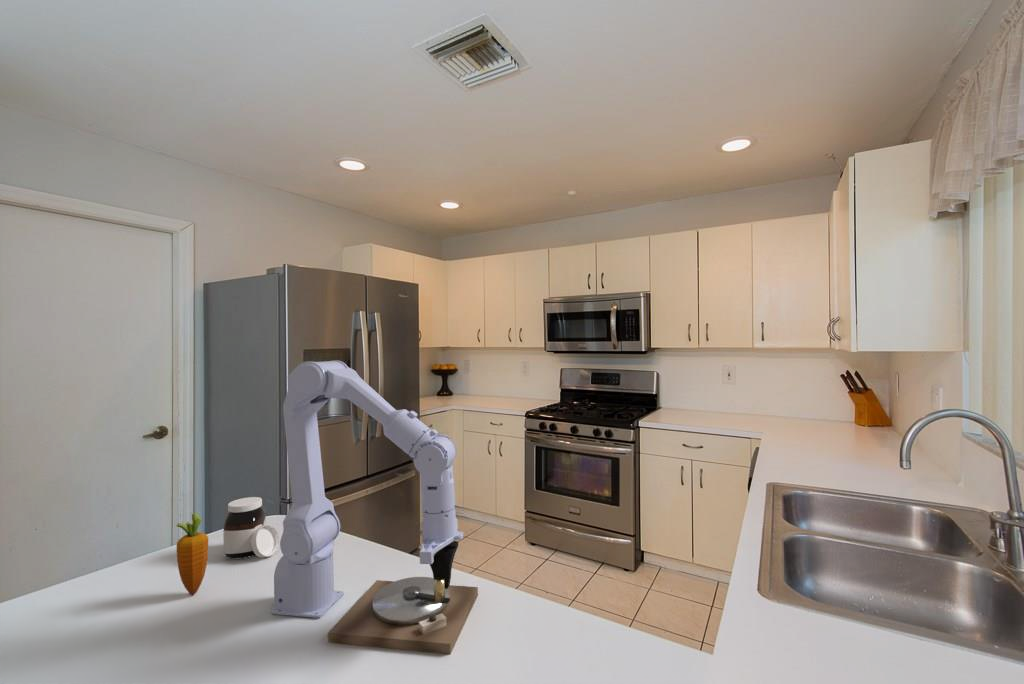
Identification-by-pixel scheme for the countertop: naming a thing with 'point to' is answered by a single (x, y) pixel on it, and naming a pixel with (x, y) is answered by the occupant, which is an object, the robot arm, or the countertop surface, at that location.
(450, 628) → the stand
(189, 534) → the carrot
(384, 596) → the cam dial
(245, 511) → the spread jar
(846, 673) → the countertop surface
